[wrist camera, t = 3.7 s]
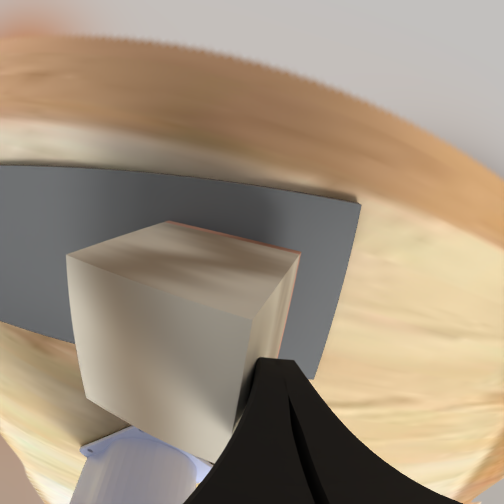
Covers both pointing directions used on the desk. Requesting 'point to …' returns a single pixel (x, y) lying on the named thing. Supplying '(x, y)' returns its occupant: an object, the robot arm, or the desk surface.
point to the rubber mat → (154, 212)
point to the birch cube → (178, 327)
